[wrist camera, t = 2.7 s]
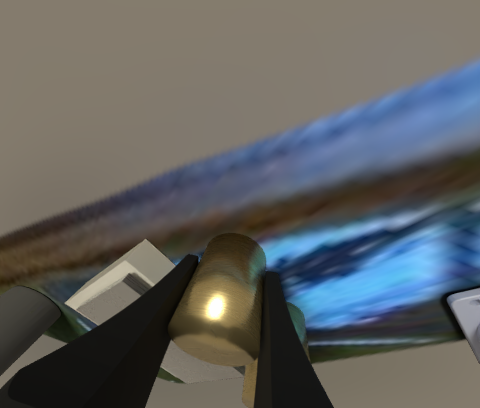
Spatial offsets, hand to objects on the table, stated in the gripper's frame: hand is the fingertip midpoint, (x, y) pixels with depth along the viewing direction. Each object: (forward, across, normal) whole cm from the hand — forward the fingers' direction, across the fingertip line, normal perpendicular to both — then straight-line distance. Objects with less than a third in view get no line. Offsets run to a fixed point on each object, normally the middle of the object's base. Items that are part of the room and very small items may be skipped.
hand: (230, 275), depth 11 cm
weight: (+1, 0, 0) cm, 1 cm away
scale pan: (-1, +4, +7) cm, 8 cm away
